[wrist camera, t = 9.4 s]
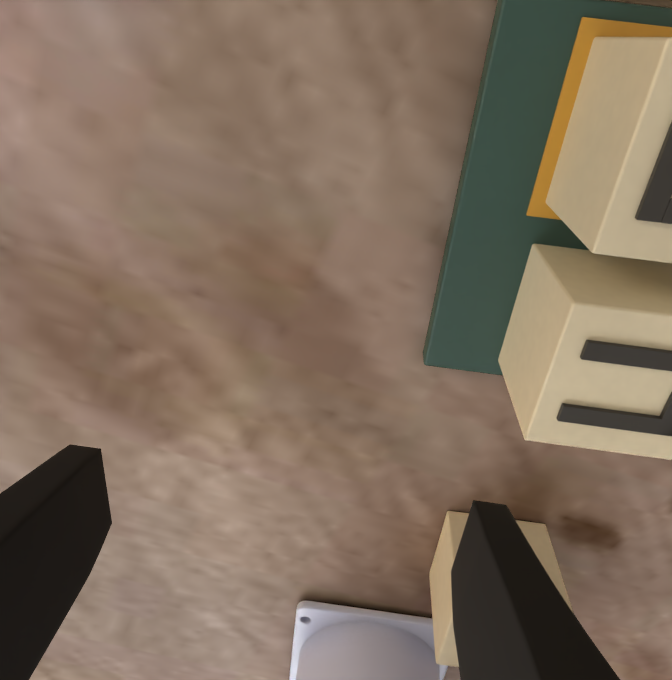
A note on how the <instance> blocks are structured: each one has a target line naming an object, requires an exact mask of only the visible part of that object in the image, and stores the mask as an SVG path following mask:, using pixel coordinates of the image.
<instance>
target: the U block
mask: <svg viewBox="0 0 672 680" xmlns="http://www.w3.org/2000/svg"><path fill="white" fill-rule="evenodd" d="M498 362H499V365H500V368H501V371H502V374H503V377H504V380H505V383H506V386H507V389H508V392H509V395H510V398H511V401H512V404H513V407H514V410H515V413H516V416H517V419H518V422H519V425H520V428H521V431H522V434H523V437H524V439H525V440H527V441H535V442H542V443H549V444H557V445H564V446H572V447H579V448H586V449H594V450H601V451H609V452H616V453H623V454H631V455H638V456H645V457H653V458H660V459H668V460H672V263H665V262H657V261H649V260H641V259H633V258H625V257H617V256H609V255H601V254H594V253H592V252H591V251H590V250H582V249H574V248H566V247H558V246H550V245H542V244H533V245H532V247H531V250H530V254H529V257H528V260H527V264H526V267H525V271H524V274H523V277H522V281H521V284H520V287H519V291H518V294H517V298H516V301H515V304H514V308H513V311H512V314H511V318H510V321H509V325H508V328H507V331H506V335H505V338H504V342H503V345H502V348H501V352H500V355H499V358H498Z"/></svg>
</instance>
